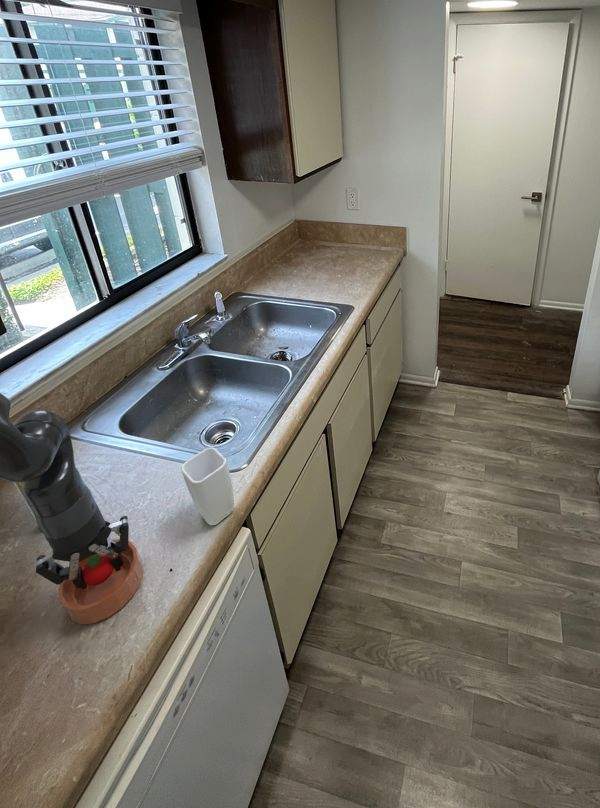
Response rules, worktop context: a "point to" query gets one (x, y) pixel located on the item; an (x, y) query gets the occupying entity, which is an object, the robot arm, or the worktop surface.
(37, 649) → the worktop surface
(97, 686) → the worktop surface
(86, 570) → the tomato
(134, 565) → the bowl
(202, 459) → the cup
